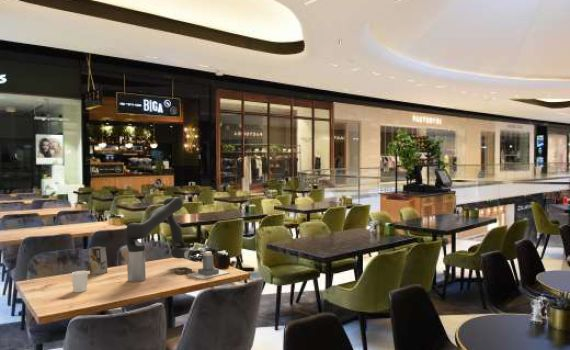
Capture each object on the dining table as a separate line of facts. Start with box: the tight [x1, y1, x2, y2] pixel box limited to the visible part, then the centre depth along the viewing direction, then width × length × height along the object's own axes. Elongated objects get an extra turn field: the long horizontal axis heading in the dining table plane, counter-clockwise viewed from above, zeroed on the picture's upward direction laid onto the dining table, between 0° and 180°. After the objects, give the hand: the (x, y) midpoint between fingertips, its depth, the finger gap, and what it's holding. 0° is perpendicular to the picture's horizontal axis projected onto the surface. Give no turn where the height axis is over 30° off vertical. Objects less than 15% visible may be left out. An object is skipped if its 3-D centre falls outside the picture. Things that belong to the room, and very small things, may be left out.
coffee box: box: [88, 246, 108, 275], centre depth 294 cm, size 9×6×16 cm
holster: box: [173, 266, 193, 275], centre depth 290 cm, size 8×8×2 cm
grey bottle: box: [202, 251, 215, 271], centre depth 284 cm, size 4×4×13 cm
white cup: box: [71, 270, 88, 293], centre depth 253 cm, size 8×8×10 cm
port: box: [186, 267, 231, 280], centre depth 284 cm, size 20×16×3 cm
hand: (207, 258), depth 284 cm, fingers open, 8 cm apart
